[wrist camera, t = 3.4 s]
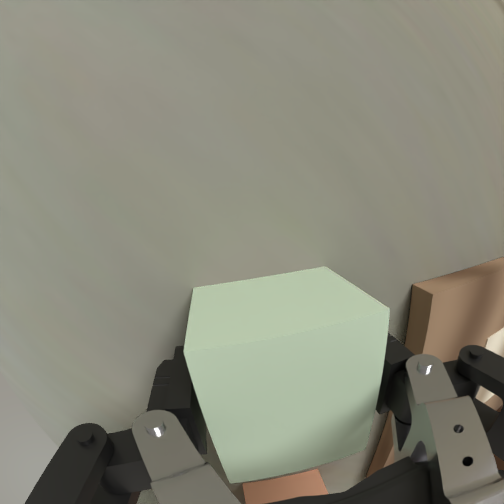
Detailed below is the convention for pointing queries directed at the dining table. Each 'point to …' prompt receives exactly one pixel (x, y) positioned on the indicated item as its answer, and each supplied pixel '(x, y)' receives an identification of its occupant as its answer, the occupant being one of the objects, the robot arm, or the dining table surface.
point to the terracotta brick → (284, 488)
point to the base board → (453, 327)
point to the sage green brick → (286, 369)
